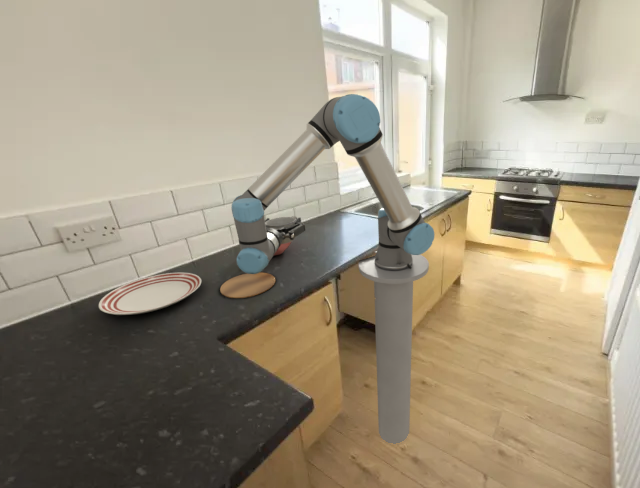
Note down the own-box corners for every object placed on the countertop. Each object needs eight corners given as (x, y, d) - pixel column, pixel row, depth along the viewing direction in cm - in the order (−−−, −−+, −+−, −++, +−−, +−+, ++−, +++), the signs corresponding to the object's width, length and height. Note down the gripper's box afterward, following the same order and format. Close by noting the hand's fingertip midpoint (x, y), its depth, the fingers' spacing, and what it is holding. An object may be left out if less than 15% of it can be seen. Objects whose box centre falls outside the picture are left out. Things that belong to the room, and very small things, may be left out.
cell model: (242, 253, 137) (237, 228, 132) (287, 242, 148) (284, 219, 143) (254, 266, 124) (249, 239, 120) (302, 254, 135) (299, 229, 131)
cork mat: (286, 279, 115) (286, 278, 114) (245, 303, 100) (245, 302, 100) (251, 269, 122) (250, 268, 122) (208, 290, 108) (208, 289, 108)
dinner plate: (122, 286, 111) (119, 277, 110) (208, 273, 119) (206, 265, 118) (84, 332, 88) (79, 322, 86) (195, 312, 96) (192, 303, 94)
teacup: (280, 248, 109) (277, 226, 106) (261, 242, 115) (258, 221, 112) (311, 237, 119) (309, 216, 116) (292, 232, 125) (289, 212, 122)
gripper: (231, 255, 99) (254, 231, 119) (306, 252, 100) (316, 230, 120) (226, 232, 96) (251, 212, 116) (303, 230, 97) (314, 210, 117)
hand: (284, 221), depth 118 cm, fingers closed on teacup, 11 cm apart
